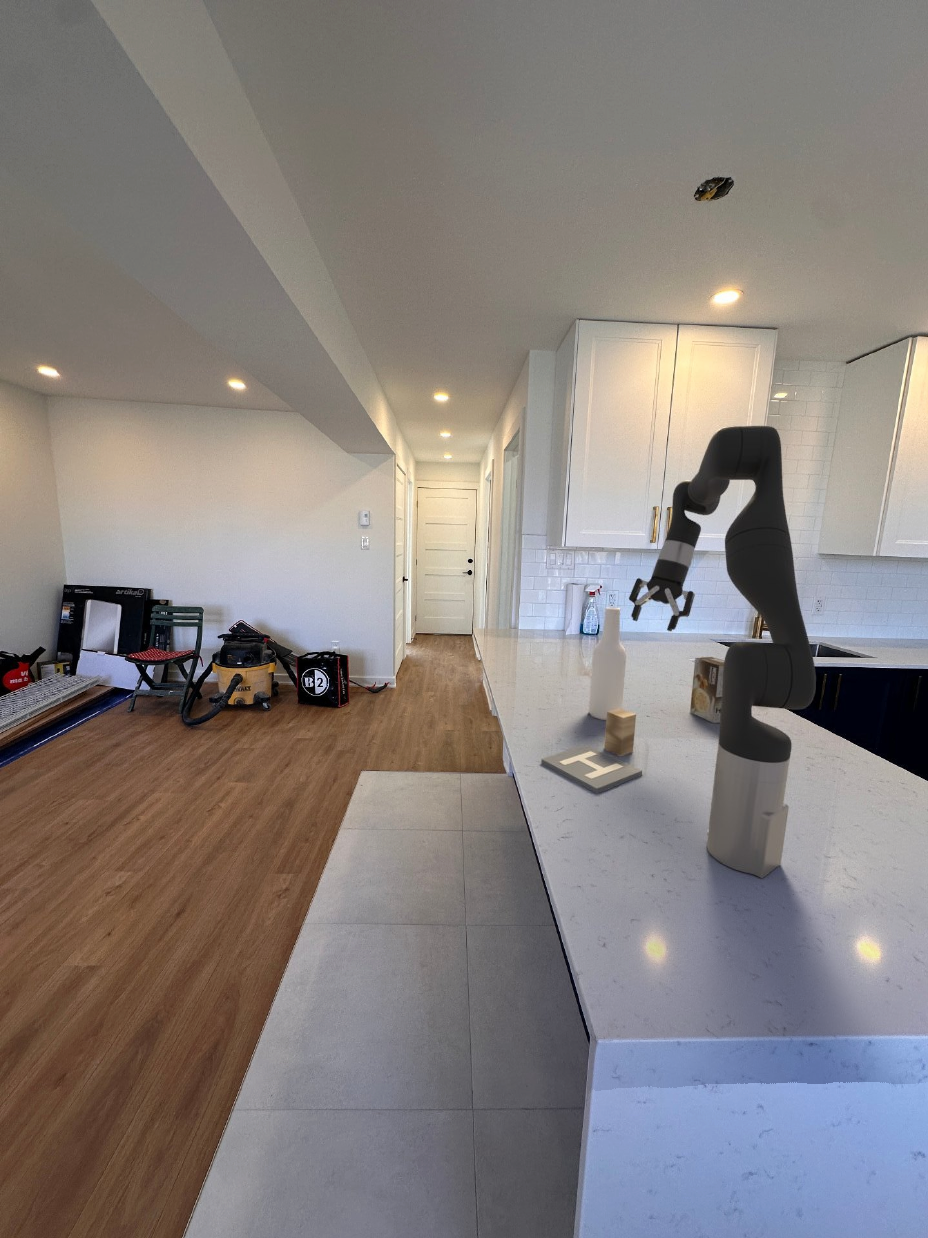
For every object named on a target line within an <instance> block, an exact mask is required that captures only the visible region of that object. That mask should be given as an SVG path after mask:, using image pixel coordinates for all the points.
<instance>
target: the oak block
mask: <svg viewBox="0 0 928 1238" xmlns="http://www.w3.org/2000/svg"><path fill="white" fill-rule="evenodd" d="M636 718H637V714H636V713H634V712H630V711H628V710H625V709H623V708H622V709H620V708H619V709H616V710H612V711H608V712H607V719H606V720H605V735H604V746H603V749H604V750H605V751H608V752H610V753H612V754H614V755H616V756H619V757H623V756H625V755H628V754H631V753H633V752H634V746H635V745H634V743H635V742H634V741H635V731H636V720H637V719H636Z"/></svg>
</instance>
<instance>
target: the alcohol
mask: <svg viewBox="0 0 928 1238" xmlns="http://www.w3.org/2000/svg"><path fill="white" fill-rule="evenodd" d="M604 610H605V611H604V620H603V627H602V634H601V638H600V641H598V643H597V644H596V645H595V646H594V648H593V650H592V651H593V652H592V656H591V657H592V658H591V669H590V670H591V672H590V673H591V675H590V687H589V701H588V713H589V715H590V716H591V717H593V718H594V719H597V720H602V721H606V719H607V712H608V711H612V710H616V709H619V708H620V709H623V705H624V704H623V703H624V692H625V691H624V688H625V677H626V667H627V666H626V665H627V652H626V649H625V647H624V645H623V643H622V642H621V640H620V639H621V638H620V637H621V636H620V632H621V631H620V629H621V627H620V626H621V625H620V624H621V623H620V622H621V621H620V619H621V618H620V617H621V608H620V607H616V606H606V607H605V608H604Z"/></svg>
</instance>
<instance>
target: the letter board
mask: <svg viewBox="0 0 928 1238" xmlns="http://www.w3.org/2000/svg"><path fill="white" fill-rule="evenodd" d="M540 763H541V764H542V765H544V767H547V768H549V769H551V770H553V771H555V772H556V773H558V774H560V775H562V776H564V777H566V778H568V779H569V780H571V781H573V782H574V783H576V784H579V785H581V786H582V787H584V788H586V789H587V790H590V791H592V792H593V793H595V794H599V793H601V792H603V791H604V792H605V791H606V790H609V789H610V788H614V787H616V786H619V785H621V784H625V783H626V782H628V781H631V780H634V779H636V778H639V777H640V776H643V769H640V768H637V767H635V766H633V765H631V764H629V763H626V762H624V761H623V760H620V759H619V758H616V757H614V756H611V755H609V754H607V753H605V752H602V751H600V750H598V749H596V748H593V747H591V746H589V745H586V744H585V745H581V746H578V747H575V748H572V749H569V750H565V751H563V752H559V753H555V754H554V755H550V756H546V757H542V758H541V762H540Z"/></svg>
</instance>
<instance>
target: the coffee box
mask: <svg viewBox="0 0 928 1238" xmlns="http://www.w3.org/2000/svg"><path fill="white" fill-rule="evenodd" d="M724 661H725V659H724V660H723V659H720V658H716V657H713V656H705V657H703V656H701V657H695V659H694V667H693V677H692V687H691V698H690V699H691V700H690V710H689V713H691V714H692V715H695V716H697V717H699V718H702V719H704V720H706V721H709V722H710V723H713V724H718V723H719V724H720V714H721V703H722V685H723V668H724Z"/></svg>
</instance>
